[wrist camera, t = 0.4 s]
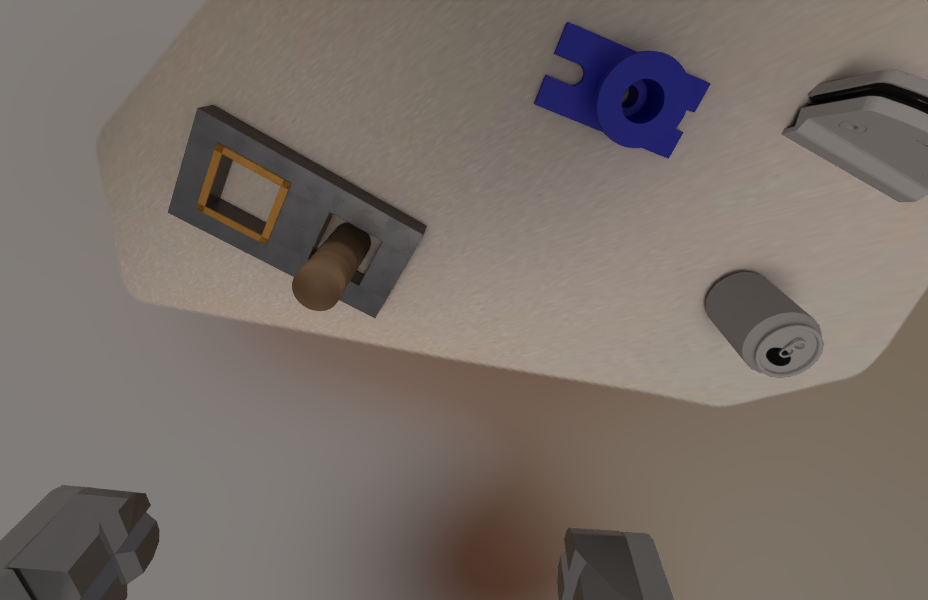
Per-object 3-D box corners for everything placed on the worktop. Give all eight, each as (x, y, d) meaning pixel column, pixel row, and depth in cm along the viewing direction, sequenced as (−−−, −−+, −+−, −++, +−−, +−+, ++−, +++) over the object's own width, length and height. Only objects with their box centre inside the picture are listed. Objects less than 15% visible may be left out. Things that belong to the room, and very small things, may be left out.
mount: (705, 82, 46) (748, 89, 39) (664, 156, 50) (696, 175, 42) (566, 22, 45) (581, 17, 37) (533, 103, 48) (541, 113, 40)
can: (689, 303, 57) (733, 360, 47) (738, 256, 54) (798, 307, 44) (731, 334, 59) (783, 396, 49) (782, 290, 56) (849, 347, 46)
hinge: (778, 132, 48) (870, 110, 38) (801, 87, 47) (902, 54, 38) (901, 203, 51) (1018, 200, 41) (925, 162, 50) (1049, 149, 40)
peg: (333, 219, 55) (292, 264, 43) (372, 226, 55) (340, 273, 43) (332, 254, 57) (291, 306, 45) (369, 261, 57) (338, 314, 46)
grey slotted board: (213, 104, 49) (196, 108, 47) (426, 226, 55) (423, 235, 52) (183, 204, 55) (166, 213, 52) (380, 306, 60) (374, 319, 57)
